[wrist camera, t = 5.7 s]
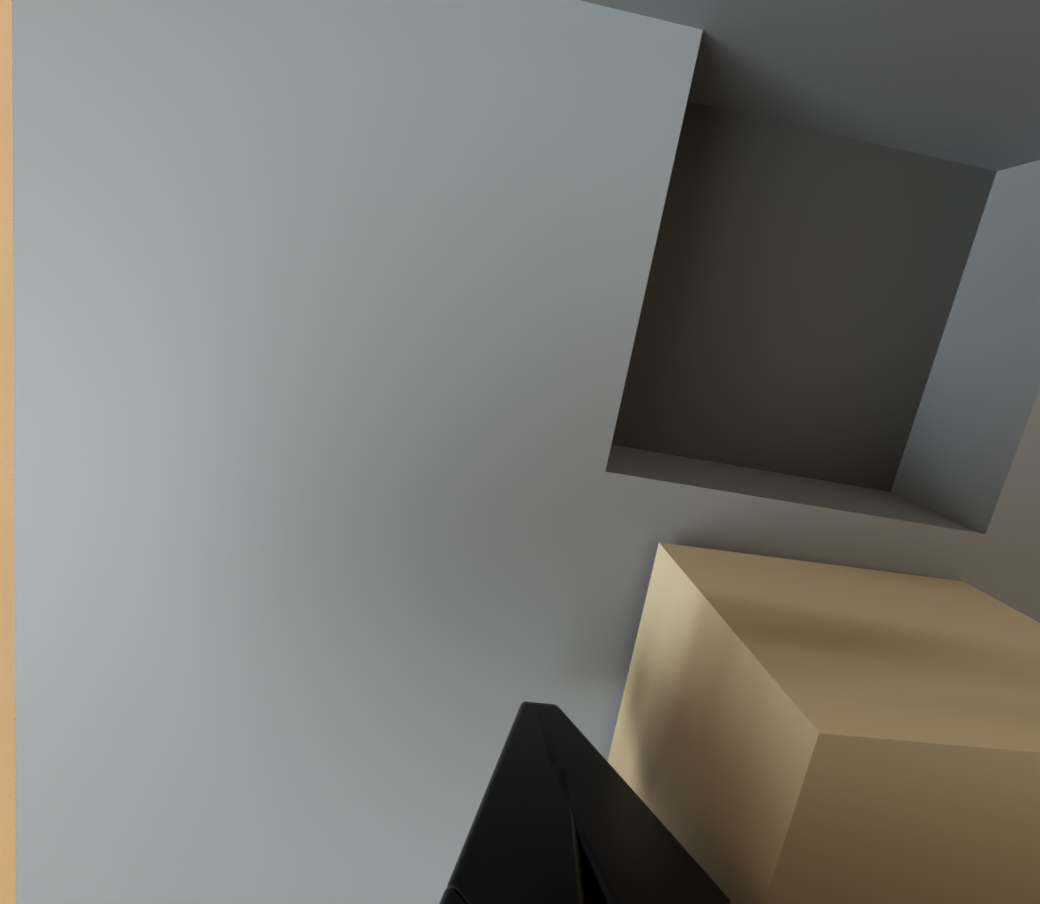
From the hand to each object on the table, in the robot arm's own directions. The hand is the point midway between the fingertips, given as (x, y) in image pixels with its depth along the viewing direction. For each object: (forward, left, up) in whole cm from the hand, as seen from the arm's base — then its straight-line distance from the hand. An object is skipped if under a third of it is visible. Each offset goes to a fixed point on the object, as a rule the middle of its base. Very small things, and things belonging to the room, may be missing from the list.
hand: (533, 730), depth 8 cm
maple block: (0, -4, -1) cm, 4 cm away
